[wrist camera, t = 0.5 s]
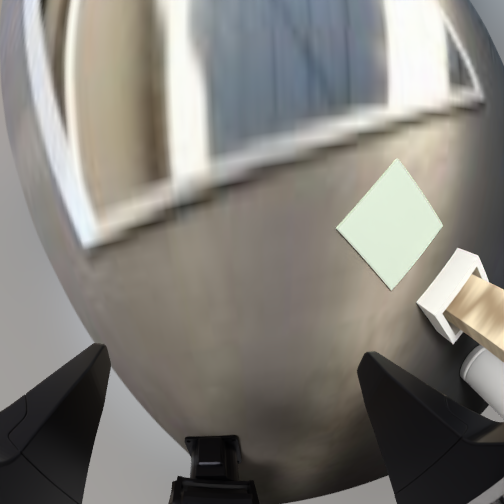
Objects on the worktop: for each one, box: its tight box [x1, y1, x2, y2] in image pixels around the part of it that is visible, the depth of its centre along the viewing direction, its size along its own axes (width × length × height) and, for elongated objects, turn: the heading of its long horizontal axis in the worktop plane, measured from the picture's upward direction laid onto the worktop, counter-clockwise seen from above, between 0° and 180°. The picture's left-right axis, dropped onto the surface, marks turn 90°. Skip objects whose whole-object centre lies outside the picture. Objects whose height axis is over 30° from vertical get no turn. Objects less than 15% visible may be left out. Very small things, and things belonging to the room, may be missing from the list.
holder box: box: [416, 248, 489, 344], centre depth 25 cm, size 8×7×4 cm
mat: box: [336, 158, 443, 291], centre depth 24 cm, size 9×9×1 cm
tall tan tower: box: [442, 274, 504, 363], centre depth 21 cm, size 5×4×12 cm
